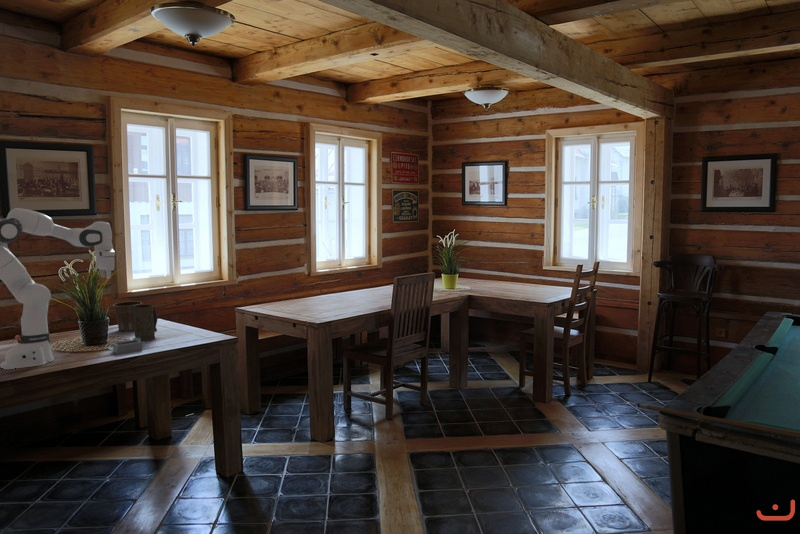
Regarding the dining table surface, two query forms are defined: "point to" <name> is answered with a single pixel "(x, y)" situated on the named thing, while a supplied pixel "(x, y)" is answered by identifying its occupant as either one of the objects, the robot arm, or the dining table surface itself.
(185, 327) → the dining table surface
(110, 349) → the lid
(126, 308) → the plant pot
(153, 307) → the beer stein
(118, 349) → the tub
